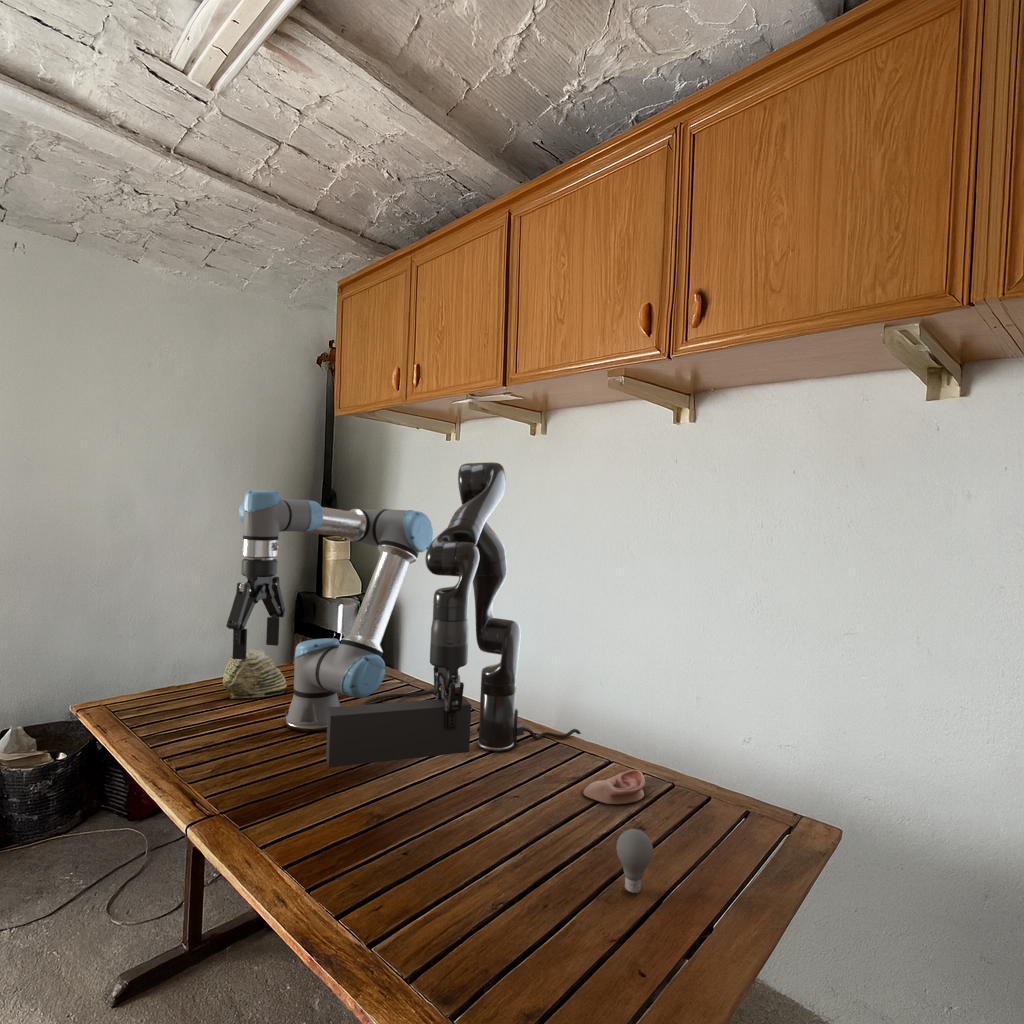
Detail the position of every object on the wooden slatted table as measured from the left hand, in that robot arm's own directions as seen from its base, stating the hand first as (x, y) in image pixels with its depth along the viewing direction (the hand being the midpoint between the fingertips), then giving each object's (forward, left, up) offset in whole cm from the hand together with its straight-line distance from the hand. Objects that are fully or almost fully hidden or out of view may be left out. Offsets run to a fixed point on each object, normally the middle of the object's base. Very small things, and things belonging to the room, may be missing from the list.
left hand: (256, 651), depth 144 cm
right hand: (-15, +46, -9) cm, 49 cm away
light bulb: (-20, +86, -28) cm, 92 cm away
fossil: (-29, -50, -28) cm, 64 cm away
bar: (-7, +41, -14) cm, 44 cm away
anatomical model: (-49, +66, -28) cm, 87 cm away
